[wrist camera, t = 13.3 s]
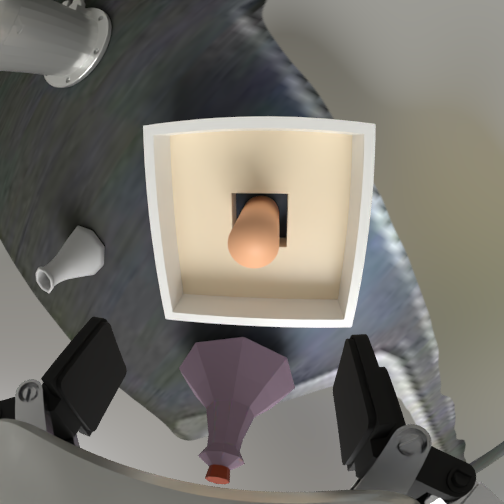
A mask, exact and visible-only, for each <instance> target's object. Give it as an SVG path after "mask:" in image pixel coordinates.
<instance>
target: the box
mask: <svg viewBox="0 0 504 504" xmlns="http://www.w3.org/2000/svg"><path fill="white" fill-rule="evenodd" d="M143 135H144V158H145V174H146V187H147V198H148V208H149V218H150V226H151V234H152V242H153V249H154V256H155V263H156V269H157V275H158V281H159V287H160V292H161V298H162V303H163V308H164V313H165V318H166V319H170V320H180V321H190V322H202V323H214V324H229V325H246V326H268V327H352V323H353V319H354V314H355V309H356V305H357V300H358V295H359V289H360V284H361V278H362V272H363V266H364V260H365V253H366V246H367V239H368V231H369V223H370V214H371V204H372V192H373V179H374V161H375V160H374V159H375V124H371V123H363V122H355V121H346V120H336V119H324V118H308V117H279V116H253V117H224V118H208V119H195V120H185V121H176V122H167V123H160V124H153V125H146V126H143ZM236 193H276V194H287V226H286V238H279V251H278V254H277V256H276V257H275V259H274V260H273V261H272V262H271V263H270V264H268V265H266V266H264V267H261V268H247V267H244V266H242V265H240V264H239V263H237V262H236V261H235V260H234V259H233V258H232V256H231V255H230V252H229V250H228V237H229V234H230V232H231V230H232V228H233V227H234V225H235V223H236V221H237V215H236Z"/></svg>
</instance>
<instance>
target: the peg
mask: <svg viewBox="0 0 504 504" xmlns="http://www.w3.org/2000/svg"><path fill="white" fill-rule="evenodd" d="M228 250H229V252H230V255H231V256H232V258H233V259H234V260H235V261H236V262H237V263H239V264H240V265H242V266H244V267H247V268H261V267H264V266H266V265H268V264H270V263H271V262H272V261H273V260H274V259H275V257H276V256H277V254H278V251H279V208H278V206H277V204H276V202H275V201H274V200H273V199H271V198H269V197H267V196H262V195H260V196H255V197H253V198H251V199H250V200H248V201H247V203H246V204H245V206H244V208H243V210H242V212H241V213H240V215H239V217H238V219H237V221H236V223H235V225H234V227H233V228H232V230H231V232H230V234H229V237H228Z"/></svg>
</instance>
